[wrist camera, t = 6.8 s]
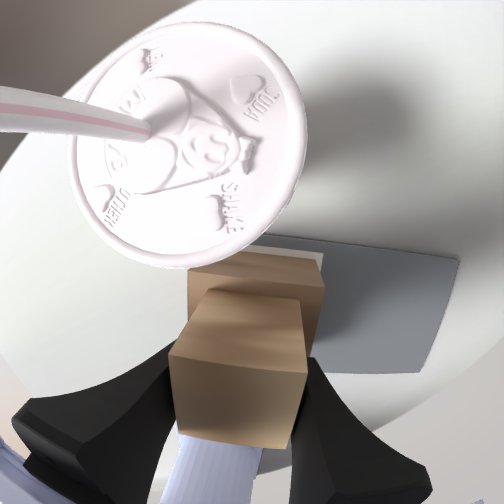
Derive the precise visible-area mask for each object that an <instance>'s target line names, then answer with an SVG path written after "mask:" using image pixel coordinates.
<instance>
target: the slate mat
mask: <svg viewBox="0 0 504 504" xmlns="http://www.w3.org/2000/svg"><path fill="white" fill-rule="evenodd" d="M240 251H245V252H254V253H263V254H271V255H280V256H289V257H298V258H307V259H315V260H316V262H317V265H318V268H319V271H320V274H321V277H322V280H323V282H324V285H325V290H324V296H323V301H322V306H321V310H320V315H319V320H318V324H317V329H316V333H315V338H314V342H313V346H312V350H311V354H310V357H315V359H316V360H317V362H318V364H319V365H320V367H321V369H322V371H323V372H326V373H353V374H391V373H417V372H420V370H421V368H422V366H423V364H424V362H425V359H426V357H427V355H428V353H429V350H430V348H431V346H432V343H433V341H434V338H435V336H436V333H437V331H438V328H439V326H440V323H441V320H442V317H443V315H444V312H445V309H446V306H447V303H448V300H449V297H450V293H451V290H452V287H453V284H454V280H455V276H456V273H457V269H458V265H459V260H458V259H454V258H447V257H440V256H433V255H426V254H419V253H412V252H405V251H398V250H390V249H383V248H375V247H367V246H360V245H352V244H344V243H336V242H327V241H319V240H311V239H302V238H294V237H285V236H276V235H267V234H261V235H260V236H259V237H258V238H257V239H256V240H255V241H253V242H252V243H251V244H249V245H248V246H246V247H245V248H244V249H242V250H240Z"/></svg>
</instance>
